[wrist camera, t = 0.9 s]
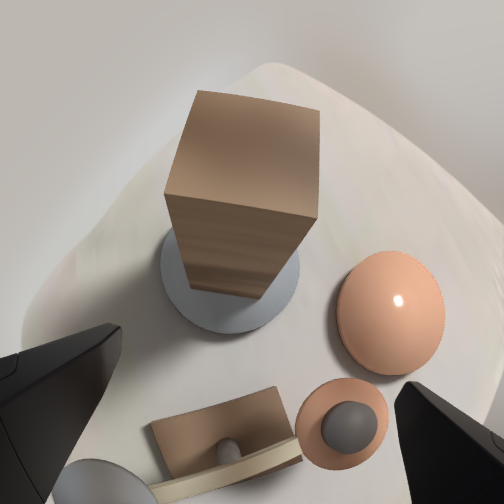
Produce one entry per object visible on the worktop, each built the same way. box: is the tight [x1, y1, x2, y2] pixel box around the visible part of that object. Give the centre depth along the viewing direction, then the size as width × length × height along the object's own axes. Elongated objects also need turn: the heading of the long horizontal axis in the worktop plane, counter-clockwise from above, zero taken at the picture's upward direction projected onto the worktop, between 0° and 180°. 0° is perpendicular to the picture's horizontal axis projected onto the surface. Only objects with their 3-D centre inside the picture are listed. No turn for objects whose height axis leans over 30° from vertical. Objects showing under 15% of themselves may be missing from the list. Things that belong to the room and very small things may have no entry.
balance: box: [53, 378, 389, 504], centre depth 15 cm, size 19×6×9 cm, turn 109°
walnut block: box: [164, 90, 320, 300], centre depth 17 cm, size 5×5×13 cm
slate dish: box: [160, 227, 300, 334], centre depth 23 cm, size 10×10×1 cm
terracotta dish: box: [336, 251, 445, 375], centre depth 23 cm, size 10×10×1 cm
